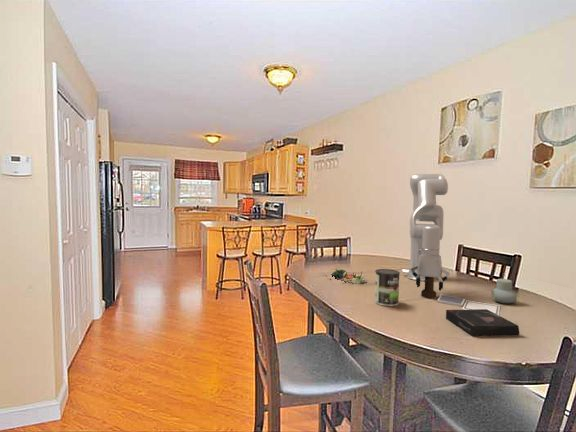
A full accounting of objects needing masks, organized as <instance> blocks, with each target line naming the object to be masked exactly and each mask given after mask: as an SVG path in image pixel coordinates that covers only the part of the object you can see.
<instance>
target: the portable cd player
mask: <svg viewBox="0 0 576 432" xmlns="http://www.w3.org/2000/svg"><path fill="white" fill-rule="evenodd" d="M445 319H446V320H447V321H449V322H450V323H451V324H453V325H454V326H456V327H457V328H459V329H461V330H462V331H463V332H465V333H466V334H468V335H469V336H470V337H510V336H511V337H514V336H519V335H520V327H519V324H517V323H514V322H512V321H511V320H508V319H506V318H504V317H502V316H500V314H499V315H497V314H495V313H493V312H491V311H489V310H487V309H471V310H462V309H446V310H445Z"/></svg>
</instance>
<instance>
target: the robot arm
mask: <svg viewBox="0 0 576 432" xmlns="http://www.w3.org/2000/svg"><path fill="white" fill-rule="evenodd" d="M409 185H410V189H411V193H412V196H413V199H412V200H413V204H412V207H413V208H412V210H413V211H412V213H411V215H410V218H409V236H410V262H409V266H410V267H409V269H405V268H404V269H402V273H403V274H406V278H407V279H410V280H412V281H415V285H416V287H417V288H419V287H421V282H425V276H426V277H433V278H434V279H438V281H439V282H438V291H442V289H444V281H446V280H448V278H449V277H450V275H451V273H450V272H449V271H447V270H445V269H444V268H443V263H442V261H443V260H442V256H441V255H440V248H441V245H440V244H441V243H440V242H441V240H442V239H443V238H444V236H443V235H444V209H443V207H442V206H441V205H438V204H437V197H436V196H445V195H447V193H448V190H449V183H448V181H447V178H446V177H445V176H444V175H443V174H442V173H416V174H412V175H411V176H410V178H409ZM416 222H430V223H416ZM432 222H433V224H432ZM443 274H445V275H444V277H443Z"/></svg>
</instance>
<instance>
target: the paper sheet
mask: <svg viewBox="0 0 576 432" xmlns="http://www.w3.org/2000/svg"><path fill="white" fill-rule="evenodd" d="M471 309H487V310H489V311H491V312H493V313H495V314H497V315H499V316H500V311H501V310H500V309H501V305H499V304H492V303H486V302H479V301H473V300H469V299H465V302H464V304H463V306H462V307H461V310H471Z"/></svg>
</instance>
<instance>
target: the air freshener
mask: <svg viewBox="0 0 576 432" xmlns="http://www.w3.org/2000/svg"><path fill="white" fill-rule="evenodd" d="M491 298H492V299H493V301H494V302H497V303H501V304H507V305H509V304H514V303H515V302H517V300H518V299H517V292H515V291H514V290H513V281H512V280H511V279H506V278H498V279H496V287H494V288H493V289H491Z"/></svg>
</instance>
